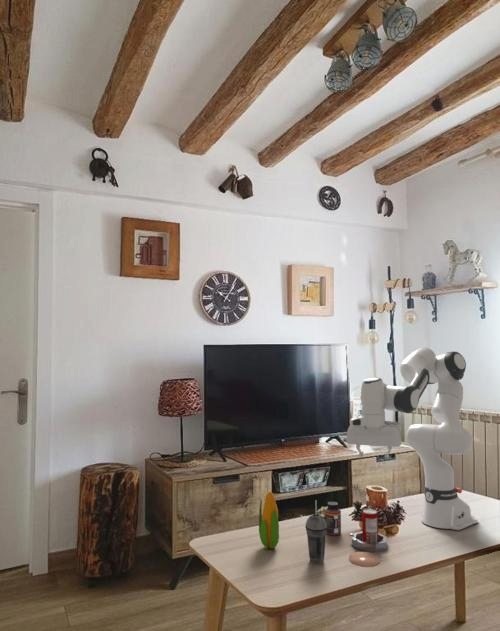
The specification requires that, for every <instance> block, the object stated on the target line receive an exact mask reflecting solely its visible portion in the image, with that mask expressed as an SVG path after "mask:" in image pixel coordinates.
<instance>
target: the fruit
mask: <svg viewBox="0 0 500 631" xmlns="http://www.w3.org/2000/svg"><path fill="white" fill-rule="evenodd" d="M326 508H328V505H326V506H321V508H319V509H317V514H319V515H321V516H322V517H323V518H324V519H325V510H326Z"/></svg>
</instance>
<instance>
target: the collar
mask: <svg viewBox="0 0 500 631" xmlns="http://www.w3.org/2000/svg"><path fill="white" fill-rule="evenodd" d="M349 536H350V537H351V546H352V547H354V548H356V549H358V550H360V551H361V552H369V553H371V552H372V553H377V552H381V551H385V550H387V547H388V545H387V544H388V537H387V536H386V535H383V534H382V533H380V532H378V542H377V543H367V542H363V537H362V531H358V532H353V533H349Z"/></svg>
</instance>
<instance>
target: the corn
mask: <svg viewBox="0 0 500 631" xmlns="http://www.w3.org/2000/svg"><path fill="white" fill-rule="evenodd" d="M262 501H263V500H262V499H260V503H259V515H258V533H259V539H260V542H261V544H262V545H263V547H265V549H268V550H273V549H275V548H276V547H277V545H278V543H279V539H280V529H279V528H280V525H279V509H278V506H277V503H276V498H275V495H274V494H273V492H272V491H268V492H267V494H266V495H265V500H264V504H263V503H262ZM262 504H263V509H262ZM262 510H263V511H262Z"/></svg>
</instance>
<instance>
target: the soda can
mask: <svg viewBox="0 0 500 631" xmlns="http://www.w3.org/2000/svg"><path fill="white" fill-rule="evenodd" d="M361 518H362V520H361V522H362V524H361V525H362V526H361V527H362V537H363V540H362V542H367V543H377V542H378V533H379V520H378V519H379V515H378V511H377V510H376V509H371V508H366V509H365V508H364V509H363V510H362V515H361Z"/></svg>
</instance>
